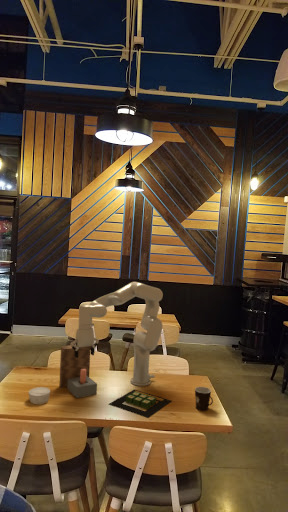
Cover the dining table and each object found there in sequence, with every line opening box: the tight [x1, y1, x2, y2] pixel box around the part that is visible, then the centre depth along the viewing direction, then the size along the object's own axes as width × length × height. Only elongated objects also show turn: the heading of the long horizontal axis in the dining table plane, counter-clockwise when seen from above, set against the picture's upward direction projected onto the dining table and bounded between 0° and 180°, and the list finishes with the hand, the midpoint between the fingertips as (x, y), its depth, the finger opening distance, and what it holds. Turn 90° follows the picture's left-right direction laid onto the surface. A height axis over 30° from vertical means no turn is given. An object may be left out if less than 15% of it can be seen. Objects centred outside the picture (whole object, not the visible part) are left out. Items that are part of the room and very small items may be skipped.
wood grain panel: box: [58, 344, 91, 389], centre depth 223 cm, size 18×6×24 cm, turn 123°
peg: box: [80, 369, 86, 384], centre depth 215 cm, size 3×3×12 cm
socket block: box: [66, 376, 98, 399], centre depth 216 cm, size 12×14×6 cm
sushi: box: [108, 389, 172, 419], centre depth 205 cm, size 25×25×4 cm
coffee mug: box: [194, 386, 214, 412], centre depth 200 cm, size 12×9×10 cm
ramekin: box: [28, 386, 51, 405], centre depth 201 cm, size 11×11×5 cm
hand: (84, 356), depth 214 cm, fingers open, 9 cm apart
